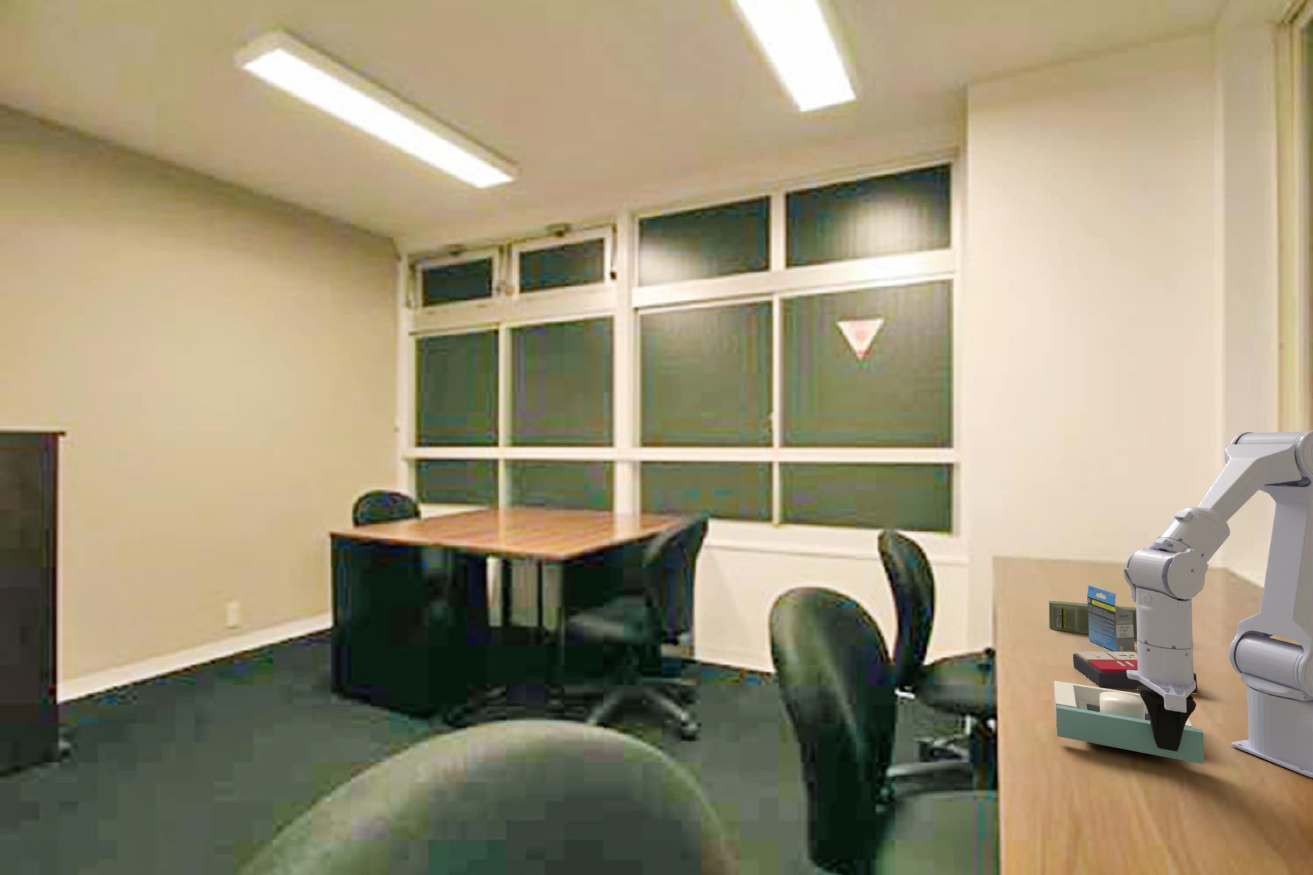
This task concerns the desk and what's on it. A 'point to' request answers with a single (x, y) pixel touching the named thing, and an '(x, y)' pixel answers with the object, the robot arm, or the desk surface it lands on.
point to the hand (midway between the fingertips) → (1166, 747)
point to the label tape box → (1109, 622)
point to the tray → (1123, 732)
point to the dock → (1083, 695)
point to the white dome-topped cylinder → (1122, 705)
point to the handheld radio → (1076, 617)
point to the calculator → (1110, 669)
